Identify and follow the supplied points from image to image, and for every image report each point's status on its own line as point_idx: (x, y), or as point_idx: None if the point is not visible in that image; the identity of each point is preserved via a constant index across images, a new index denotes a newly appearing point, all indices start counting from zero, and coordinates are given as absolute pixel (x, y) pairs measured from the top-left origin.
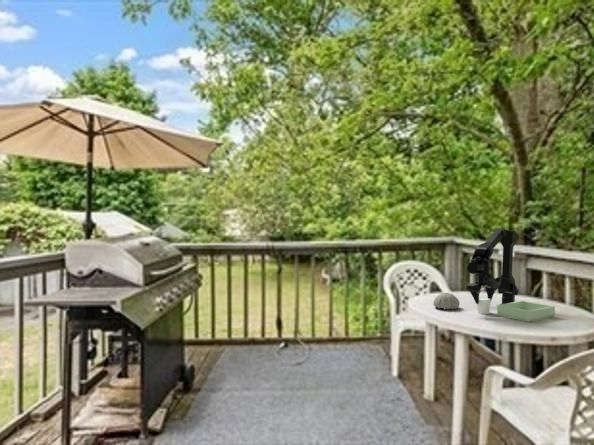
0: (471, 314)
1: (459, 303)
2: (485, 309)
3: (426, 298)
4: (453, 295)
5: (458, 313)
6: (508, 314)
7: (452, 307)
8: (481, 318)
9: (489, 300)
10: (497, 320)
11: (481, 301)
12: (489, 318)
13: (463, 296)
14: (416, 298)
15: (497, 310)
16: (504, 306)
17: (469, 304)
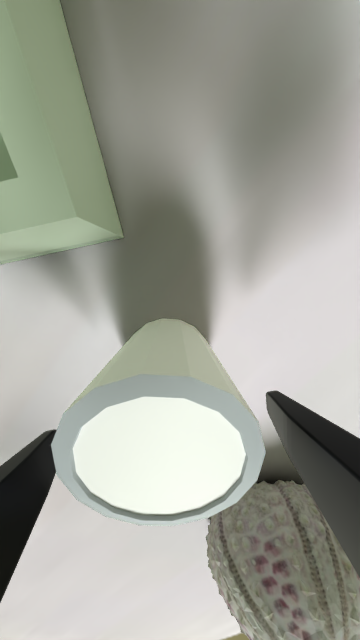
0: (279, 349)
1: (228, 526)
2: (185, 332)
3: (203, 627)
4: (284, 637)
5: (323, 402)
6: (61, 43)
7: (300, 487)
8: (332, 193)
9: (118, 377)
10: (280, 6)
11: (243, 401)
12: (274, 154)
13: (43, 620)
14: (236, 632)
15: (108, 230)
16: (8, 4)
17: (107, 530)
